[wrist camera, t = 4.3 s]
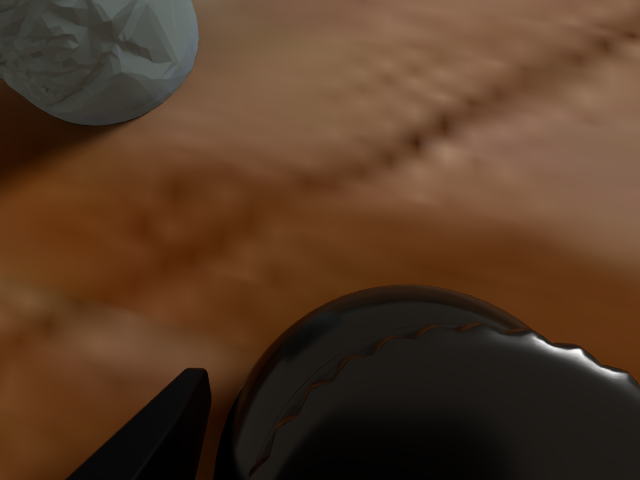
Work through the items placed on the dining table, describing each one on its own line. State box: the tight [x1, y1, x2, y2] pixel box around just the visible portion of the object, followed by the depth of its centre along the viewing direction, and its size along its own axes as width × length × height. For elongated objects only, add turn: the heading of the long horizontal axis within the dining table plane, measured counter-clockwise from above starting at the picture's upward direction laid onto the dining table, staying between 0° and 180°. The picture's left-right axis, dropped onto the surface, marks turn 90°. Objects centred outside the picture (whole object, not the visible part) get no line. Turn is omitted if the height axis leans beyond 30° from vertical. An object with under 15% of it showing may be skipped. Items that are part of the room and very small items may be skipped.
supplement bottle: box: [213, 285, 640, 480], centre depth 9 cm, size 7×7×12 cm
